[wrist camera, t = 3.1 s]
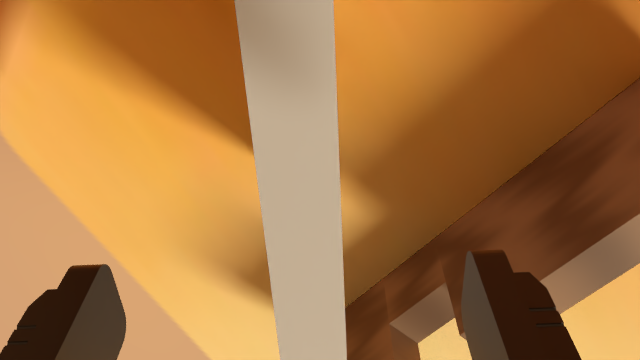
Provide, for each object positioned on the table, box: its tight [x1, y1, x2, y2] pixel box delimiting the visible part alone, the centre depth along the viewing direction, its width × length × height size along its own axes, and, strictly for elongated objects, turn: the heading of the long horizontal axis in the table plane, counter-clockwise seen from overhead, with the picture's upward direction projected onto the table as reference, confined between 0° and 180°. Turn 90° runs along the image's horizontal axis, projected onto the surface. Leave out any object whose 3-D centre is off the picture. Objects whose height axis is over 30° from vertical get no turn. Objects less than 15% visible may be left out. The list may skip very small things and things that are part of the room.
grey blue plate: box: [234, 0, 347, 360], centre depth 23 cm, size 18×2×14 cm, turn 3°
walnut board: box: [345, 78, 640, 360], centre depth 32 cm, size 26×2×8 cm, turn 138°
